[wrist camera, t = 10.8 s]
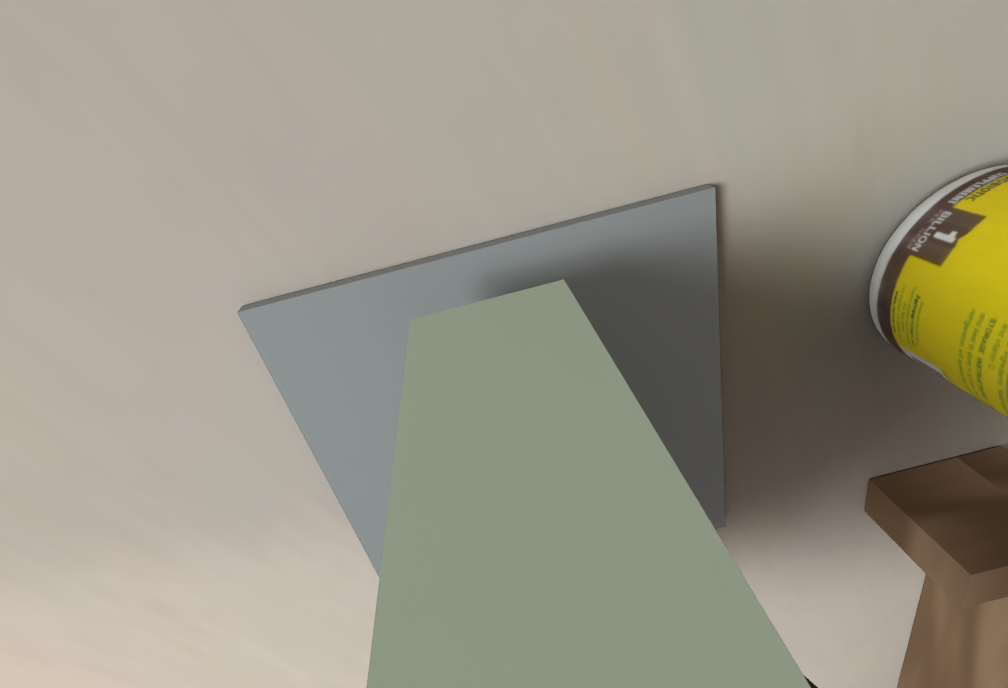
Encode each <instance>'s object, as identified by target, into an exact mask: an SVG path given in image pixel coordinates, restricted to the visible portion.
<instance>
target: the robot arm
mask: <svg viewBox="0 0 1008 688" xmlns="http://www.w3.org/2000/svg"><path fill="white" fill-rule="evenodd" d="M804 677H805V676H804ZM805 679H806V680H807V682H808V684H809V685H810V687H811V688H818V687H816V686H815V685H814V684H813V683H812V682H811V681H810V680H809V679H807V678H806V677H805Z"/></svg>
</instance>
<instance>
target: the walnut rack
mask: <svg viewBox="0 0 1008 688" xmlns="http://www.w3.org/2000/svg"><path fill="white" fill-rule="evenodd" d="M865 512H866V513H867V514H868V515H869V516H870V517H871V518H872V519H873V520H874V521H875V522H876V523H877V524H878V525H879V526H880V527H881V528H882V529H883V530H884V531H885V532H886V533H887V534H888V535H889V536H890V537H891V538H892V539H893V540H894V541H895V542H896V543H897V544H898V545H899V546H900V547H901V548H902V550H903V551H904V552H905V553H906V554H907V555H908V556H909V557H910V558H911V559H912V560H913V561H914V562H915V563H916V564H917V565H918V566H919V567H920V568H921V569H922V570H923V571H924V572H925V573H926V578H925V582H924V586H923V590H922V594H921V597H920V601H919V605H918V609H917V613H916V617H915V621H914V625H913V629H912V632H911V636H910V640H909V644H908V648H907V652H906V656H905V660H904V664H903V667H902V671H901V675H900V679H899V683H898V687H897V688H1008V451H1007V450H1005V449H1004V448H1002V447H1001V446H999V447H995V448H991V449H987V450H983V451H979V452H975V453H971V454H967V455H963V456H960V457H956V458H952V459H948V460H944V461H940V462H936V463H932V464H928V465H924V466H920V467H916V468H913V469H909V470H905V471H901V472H897V473H893V474H889V475H885V476H881V477H877V478H873V479H869V485H868V492H867V498H866V505H865Z"/></svg>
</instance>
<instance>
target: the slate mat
mask: <svg viewBox="0 0 1008 688" xmlns="http://www.w3.org/2000/svg"><path fill="white" fill-rule="evenodd" d="M563 279H564V280H565V282H566V284H567V285H568V287H569V289H570V290H571V292H572V294H573V295H574V297H575V299H576V300H577V302H578V304H579V305H580V307H581V308H582V310H583V312H584V313H585V315H586V317H587V318H588V320H589V322H590V323H591V325H592V327H593V328H594V330H595V332H596V333H597V335H598V337H599V338H600V340H601V342H602V343H603V345H604V346H605V348H606V350H607V351H608V353H609V355H610V356H611V358H612V360H613V361H614V363H615V365H616V366H617V368H618V370H619V371H620V373H621V375H622V376H623V378H624V380H625V381H626V383H627V384H628V386H629V388H630V389H631V391H632V393H633V394H634V396H635V398H636V399H637V401H638V403H639V404H640V406H641V408H642V409H643V411H644V413H645V414H646V416H647V418H648V419H649V421H650V422H651V424H652V426H653V427H654V429H655V431H656V432H657V434H658V436H659V437H660V439H661V441H662V442H663V444H664V446H665V447H666V449H667V451H668V452H669V454H670V456H671V457H672V459H673V460H674V462H675V464H676V465H677V467H678V469H679V470H680V472H681V474H682V475H683V477H684V479H685V480H686V482H687V484H688V485H689V487H690V489H691V490H692V492H693V494H694V495H695V497H696V498H697V500H698V502H699V503H700V505H701V507H702V508H703V510H704V512H705V513H706V515H707V517H708V518H709V520H710V522H711V523H712V525H713V527H714V528H715V529H717V528H721V527H725V526H726V521H725V489H724V457H723V424H722V392H721V359H720V327H719V295H718V262H717V230H716V198H715V187H713V186H711V185H708V184H706V185H703V186H699V187H695V188H691V189H687V190H684V191H680V192H676V193H672V194H668V195H664V196H661V197H657V198H653V199H649V200H645V201H641V202H638V203H634V204H630V205H626V206H622V207H619V208H615V209H611V210H607V211H603V212H599V213H596V214H592V215H588V216H584V217H580V218H577V219H573V220H569V221H565V222H561V223H557V224H554V225H550V226H546V227H542V228H538V229H534V230H531V231H527V232H523V233H519V234H515V235H512V236H508V237H504V238H500V239H496V240H492V241H489V242H485V243H481V244H477V245H473V246H470V247H466V248H462V249H458V250H454V251H450V252H447V253H443V254H439V255H435V256H431V257H427V258H424V259H420V260H416V261H412V262H408V263H405V264H401V265H397V266H393V267H389V268H385V269H382V270H378V271H374V272H370V273H366V274H363V275H359V276H355V277H351V278H347V279H343V280H340V281H336V282H332V283H328V284H324V285H321V286H317V287H313V288H309V289H305V290H301V291H298V292H294V293H290V294H286V295H282V296H278V297H275V298H271V299H267V300H263V301H259V302H256V303H252V304H248V305H244V306H242V307H241V308H240V310H239V311H238V312H237V313H238V315H239V317H240V319H241V320H242V322H243V324H244V326H245V328H246V330H247V332H248V333H249V335H250V337H251V339H252V341H253V343H254V345H255V347H256V348H257V350H258V352H259V354H260V356H261V358H262V360H263V361H264V363H265V365H266V367H267V369H268V371H269V373H270V375H271V376H272V378H273V380H274V382H275V384H276V386H277V388H278V389H279V391H280V393H281V395H282V397H283V399H284V401H285V402H286V404H287V406H288V408H289V410H290V412H291V414H292V416H293V417H294V419H295V421H296V423H297V425H298V427H299V429H300V430H301V432H302V434H303V436H304V438H305V440H306V442H307V444H308V445H309V447H310V449H311V451H312V453H313V455H314V457H315V458H316V460H317V462H318V464H319V466H320V468H321V470H322V472H323V473H324V475H325V477H326V479H327V481H328V483H329V485H330V486H331V488H332V490H333V492H334V494H335V496H336V498H337V499H338V501H339V503H340V505H341V507H342V509H343V511H344V513H345V514H346V516H347V518H348V520H349V522H350V524H351V526H352V527H353V529H354V531H355V533H356V535H357V537H358V539H359V541H360V542H361V544H362V546H363V548H364V550H365V552H366V554H367V555H368V557H369V559H370V561H371V563H372V565H373V567H374V569H375V570H376V572H377V574H378V576H379V578H380V571H381V562H382V554H383V545H384V537H385V528H386V520H387V512H388V503H389V495H390V486H391V478H392V469H393V461H394V452H395V444H396V435H397V427H398V419H399V410H400V402H401V393H402V385H403V376H404V368H405V359H406V351H407V342H408V334H409V326H410V319H414V318H417V317H421V316H425V315H429V314H433V313H437V312H441V311H444V310H448V309H452V308H456V307H460V306H464V305H467V304H471V303H475V302H479V301H483V300H487V299H490V298H494V297H498V296H502V295H506V294H510V293H514V292H517V291H521V290H525V289H529V288H533V287H537V286H540V285H544V284H548V283H552V282H556V281H560V280H563Z"/></svg>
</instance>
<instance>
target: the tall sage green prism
mask: <svg viewBox="0 0 1008 688" xmlns="http://www.w3.org/2000/svg"><path fill="white" fill-rule="evenodd" d="M367 688H811V687H810V685H809V684H808V682H807V680H806V679H805V677H804V675H803V674H802V672H801V670H800V669H799V667H798V665H797V664H796V662H795V660H794V659H793V657H792V655H791V654H790V652H789V650H788V649H787V647H786V646H785V644H784V642H783V641H782V639H781V637H780V636H779V634H778V632H777V631H776V629H775V627H774V626H773V624H772V622H771V621H770V619H769V617H768V616H767V614H766V612H765V611H764V609H763V608H762V606H761V604H760V603H759V601H758V599H757V598H756V596H755V594H754V593H753V591H752V589H751V588H750V586H749V584H748V583H747V581H746V579H745V578H744V576H743V574H742V573H741V571H740V570H739V568H738V566H737V565H736V563H735V561H734V560H733V558H732V556H731V555H730V553H729V551H728V550H727V548H726V546H725V545H724V543H723V541H722V540H721V538H720V536H719V535H718V533H717V532H716V530H715V528H714V527H713V525H712V523H711V522H710V520H709V518H708V517H707V515H706V513H705V512H704V510H703V508H702V507H701V505H700V503H699V502H698V500H697V498H696V497H695V495H694V494H693V492H692V490H691V489H690V487H689V485H688V484H687V482H686V480H685V479H684V477H683V475H682V474H681V472H680V470H679V469H678V467H677V465H676V464H675V462H674V460H673V459H672V457H671V456H670V454H669V452H668V451H667V449H666V447H665V446H664V444H663V442H662V441H661V439H660V437H659V436H658V434H657V432H656V431H655V429H654V427H653V426H652V424H651V422H650V421H649V419H648V418H647V416H646V414H645V413H644V411H643V409H642V408H641V406H640V404H639V403H638V401H637V399H636V398H635V396H634V394H633V393H632V391H631V389H630V388H629V386H628V384H627V383H626V381H625V380H624V378H623V376H622V375H621V373H620V371H619V370H618V368H617V366H616V365H615V363H614V361H613V360H612V358H611V356H610V355H609V353H608V351H607V350H606V348H605V346H604V345H603V343H602V342H601V340H600V338H599V337H598V335H597V333H596V332H595V330H594V328H593V327H592V325H591V323H590V322H589V320H588V318H587V317H586V315H585V313H584V312H583V310H582V308H581V307H580V305H579V304H578V302H577V300H576V299H575V297H574V295H573V294H572V292H571V290H570V289H569V287H568V285H567V284H566V282H565V280H564V279H563V280H560V281H556V282H552V283H548V284H544V285H540V286H537V287H533V288H529V289H525V290H521V291H517V292H514V293H510V294H506V295H502V296H498V297H494V298H490V299H487V300H483V301H479V302H475V303H471V304H467V305H464V306H460V307H456V308H452V309H448V310H444V311H441V312H437V313H433V314H429V315H425V316H421V317H417V318H414V319H410V326H409V334H408V342H407V351H406V359H405V368H404V376H403V385H402V393H401V402H400V410H399V419H398V427H397V435H396V444H395V452H394V461H393V469H392V478H391V486H390V495H389V503H388V512H387V520H386V528H385V537H384V545H383V554H382V562H381V571H380V579H379V588H378V596H377V605H376V613H375V621H374V630H373V638H372V647H371V655H370V664H369V672H368V681H367Z"/></svg>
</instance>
